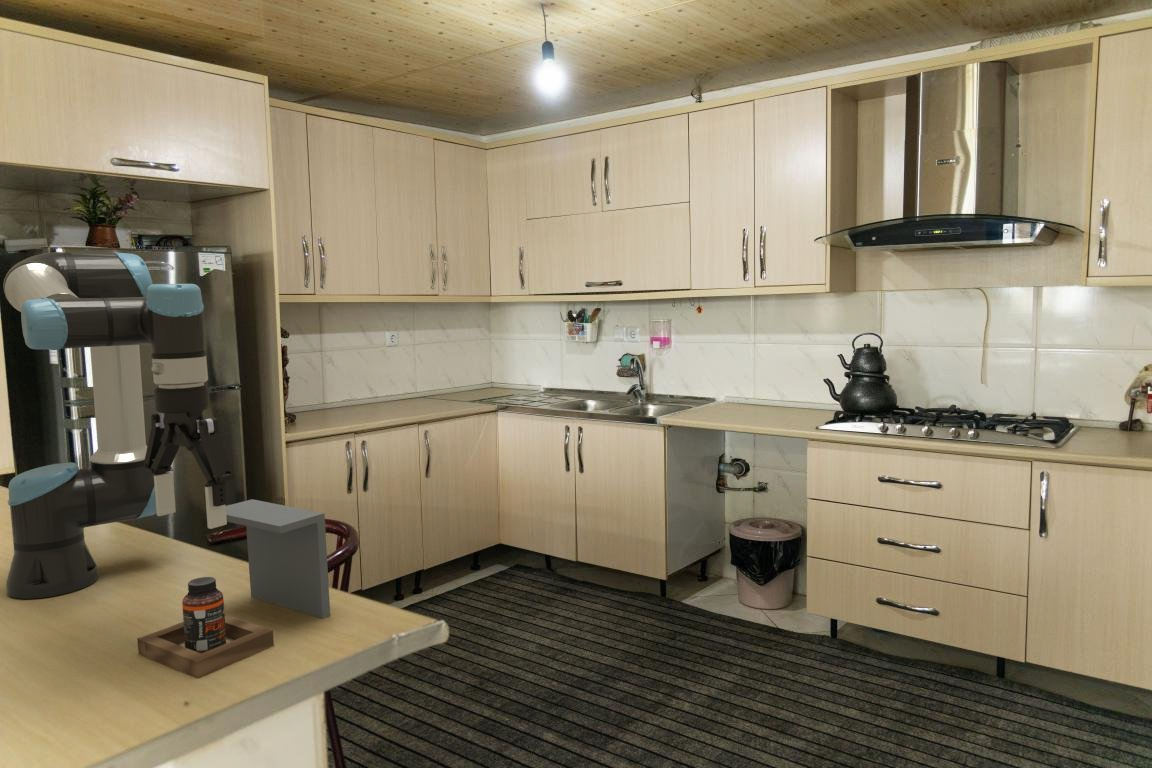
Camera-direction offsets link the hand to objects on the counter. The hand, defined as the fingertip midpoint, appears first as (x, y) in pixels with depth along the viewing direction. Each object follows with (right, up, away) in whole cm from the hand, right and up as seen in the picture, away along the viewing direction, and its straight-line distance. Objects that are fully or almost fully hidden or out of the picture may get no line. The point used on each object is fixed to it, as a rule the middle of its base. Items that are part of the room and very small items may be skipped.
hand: (191, 520), depth 128 cm
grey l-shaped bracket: (+7, -19, +16) cm, 26 cm away
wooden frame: (+2, -21, +2) cm, 21 cm away
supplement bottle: (+2, -21, +2) cm, 21 cm away
